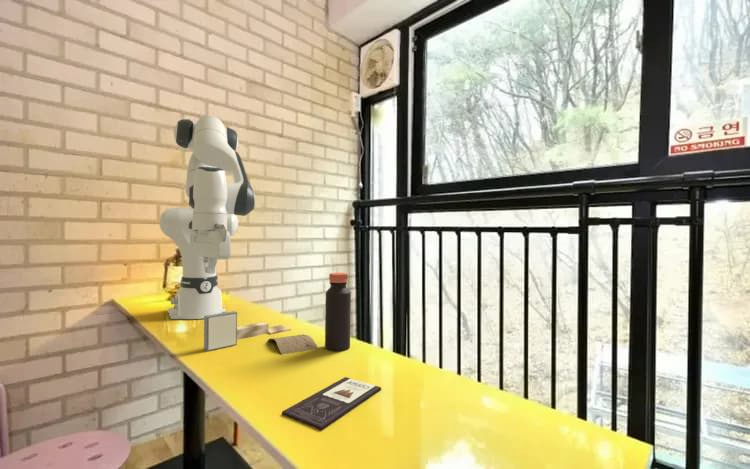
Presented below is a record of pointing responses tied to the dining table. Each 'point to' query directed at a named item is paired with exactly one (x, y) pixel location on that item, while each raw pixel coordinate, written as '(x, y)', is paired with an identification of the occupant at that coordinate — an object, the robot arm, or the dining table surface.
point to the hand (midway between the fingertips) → (209, 273)
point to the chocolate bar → (331, 403)
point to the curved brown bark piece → (295, 343)
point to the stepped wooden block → (259, 330)
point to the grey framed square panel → (220, 330)
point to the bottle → (337, 313)
